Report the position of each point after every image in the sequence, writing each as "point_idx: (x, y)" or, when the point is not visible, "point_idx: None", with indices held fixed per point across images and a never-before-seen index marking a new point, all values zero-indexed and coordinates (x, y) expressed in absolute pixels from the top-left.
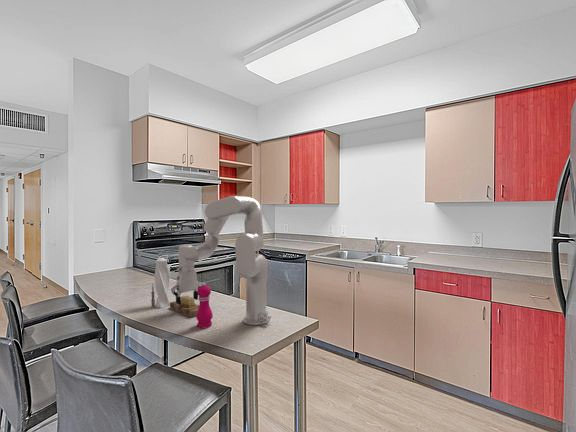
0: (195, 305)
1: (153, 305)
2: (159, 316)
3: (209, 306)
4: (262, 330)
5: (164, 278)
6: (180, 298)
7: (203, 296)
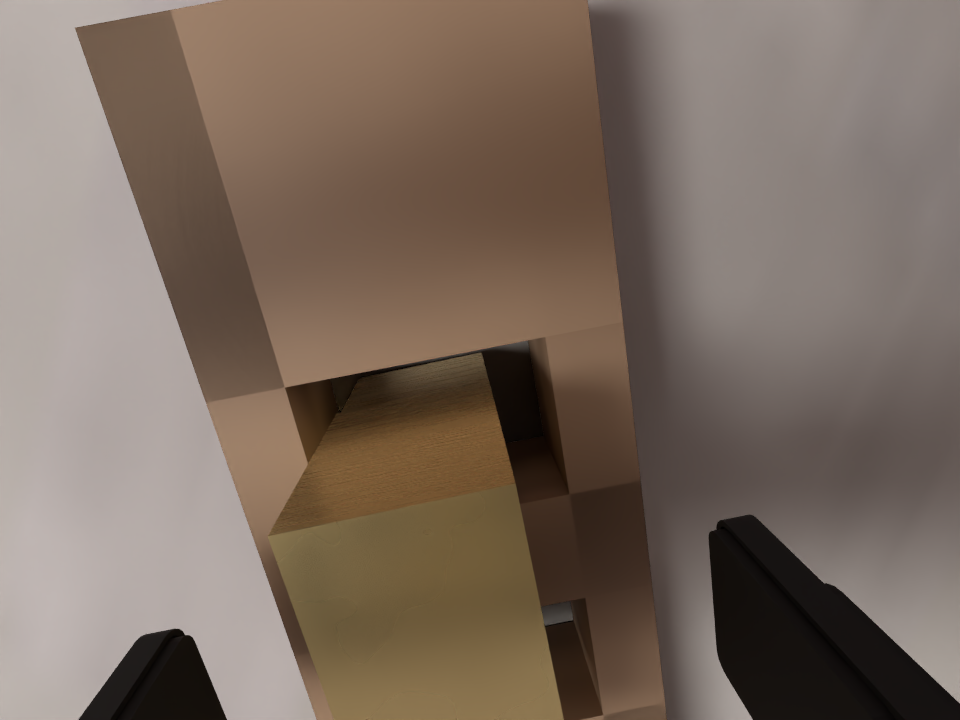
0: (299, 434)
1: None
2: (937, 501)
3: None
4: None
5: None
6: (836, 659)
7: None
